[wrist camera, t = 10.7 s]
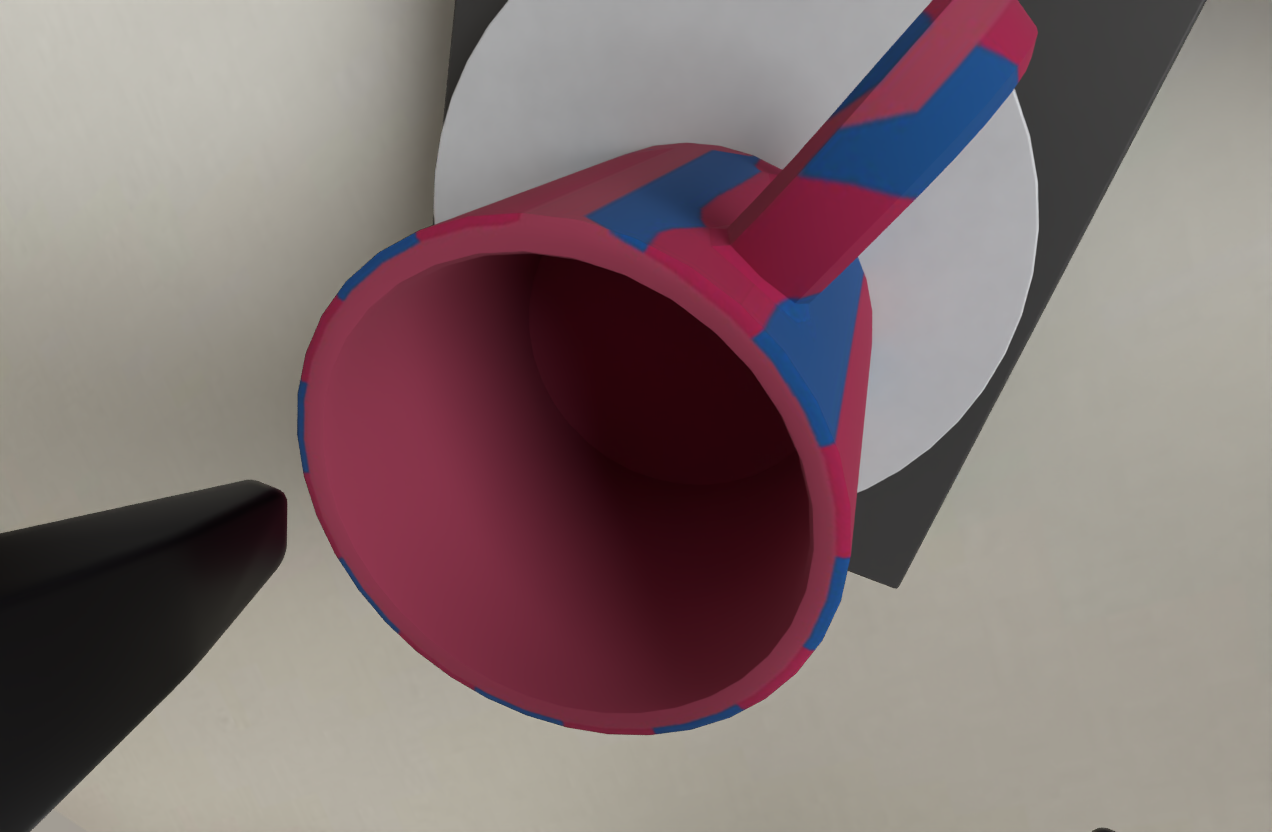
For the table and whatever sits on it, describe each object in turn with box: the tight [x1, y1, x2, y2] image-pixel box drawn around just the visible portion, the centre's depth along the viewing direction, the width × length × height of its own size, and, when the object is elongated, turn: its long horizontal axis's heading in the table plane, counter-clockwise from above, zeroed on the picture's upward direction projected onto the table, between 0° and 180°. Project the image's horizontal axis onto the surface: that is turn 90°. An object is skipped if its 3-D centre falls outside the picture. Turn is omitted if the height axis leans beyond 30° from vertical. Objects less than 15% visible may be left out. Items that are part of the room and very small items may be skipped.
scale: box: [433, 0, 1206, 589], centre depth 16 cm, size 12×12×4 cm
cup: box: [297, 0, 1038, 735], centre depth 11 cm, size 7×10×7 cm
